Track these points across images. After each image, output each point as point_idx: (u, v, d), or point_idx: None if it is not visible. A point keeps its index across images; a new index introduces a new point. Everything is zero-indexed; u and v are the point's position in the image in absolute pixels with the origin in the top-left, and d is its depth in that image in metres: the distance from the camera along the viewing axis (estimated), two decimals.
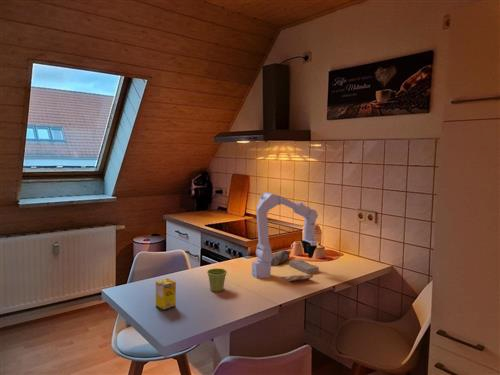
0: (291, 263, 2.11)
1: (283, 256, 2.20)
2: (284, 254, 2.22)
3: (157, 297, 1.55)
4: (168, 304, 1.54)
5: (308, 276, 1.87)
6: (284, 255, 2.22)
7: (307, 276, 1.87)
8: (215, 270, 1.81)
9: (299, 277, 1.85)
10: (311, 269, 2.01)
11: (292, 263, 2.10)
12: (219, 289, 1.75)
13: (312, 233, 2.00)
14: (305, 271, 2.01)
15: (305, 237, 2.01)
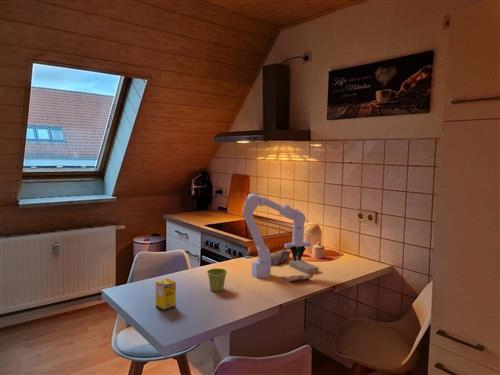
0: (291, 263, 2.11)
1: (283, 256, 2.20)
2: (284, 254, 2.22)
3: (157, 297, 1.55)
4: (168, 304, 1.54)
5: (308, 276, 1.87)
6: (284, 255, 2.22)
7: (307, 276, 1.87)
8: (215, 270, 1.81)
9: (299, 277, 1.85)
10: (311, 269, 2.01)
11: (292, 263, 2.10)
12: (219, 289, 1.75)
13: (294, 237, 1.93)
14: (305, 271, 2.01)
15: None
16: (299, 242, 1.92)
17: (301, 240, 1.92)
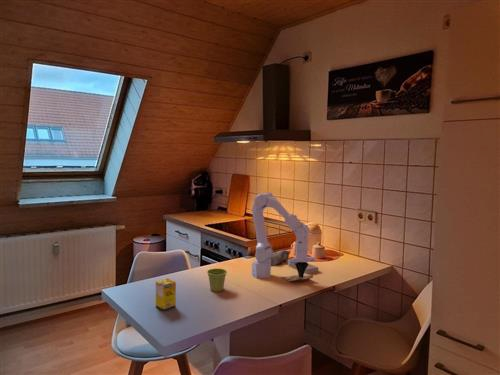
0: None
1: (282, 256, 2.20)
2: (283, 254, 2.22)
3: (157, 297, 1.55)
4: (168, 304, 1.54)
5: (308, 277, 1.87)
6: (283, 255, 2.22)
7: (307, 277, 1.87)
8: (215, 270, 1.81)
9: (299, 278, 1.85)
10: (311, 269, 2.01)
11: None
12: (219, 289, 1.75)
13: (297, 252, 1.84)
14: (305, 271, 2.01)
15: None
16: (303, 258, 1.83)
17: (305, 255, 1.83)
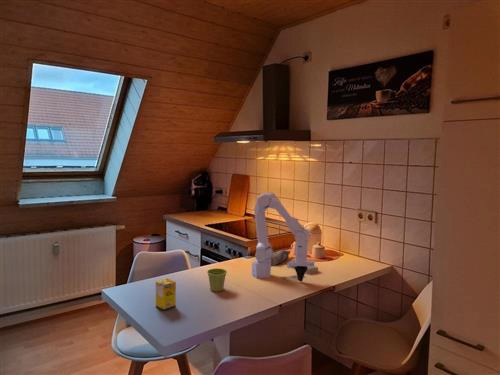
0: None
1: (282, 256, 2.20)
2: (283, 254, 2.22)
3: (157, 297, 1.55)
4: (168, 304, 1.54)
5: None
6: (283, 255, 2.22)
7: None
8: (215, 270, 1.81)
9: None
10: (311, 269, 2.01)
11: None
12: (219, 289, 1.75)
13: (297, 256, 1.84)
14: None
15: None
16: (302, 262, 1.83)
17: (304, 260, 1.84)
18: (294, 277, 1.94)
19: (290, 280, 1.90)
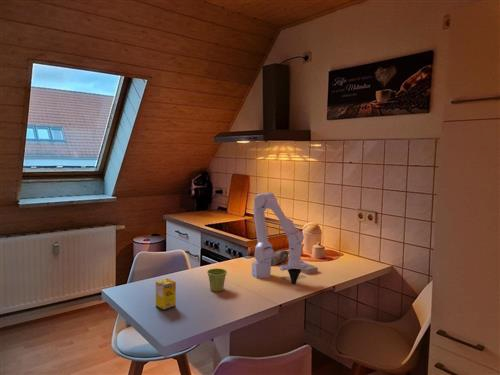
0: None
1: (282, 256, 2.20)
2: (283, 254, 2.22)
3: (157, 297, 1.55)
4: (168, 304, 1.54)
5: None
6: (283, 255, 2.22)
7: None
8: (215, 270, 1.81)
9: None
10: (310, 269, 2.00)
11: None
12: (219, 289, 1.75)
13: (290, 258, 1.82)
14: (304, 271, 2.01)
15: None
16: (296, 264, 1.81)
17: (298, 262, 1.82)
18: None
19: None
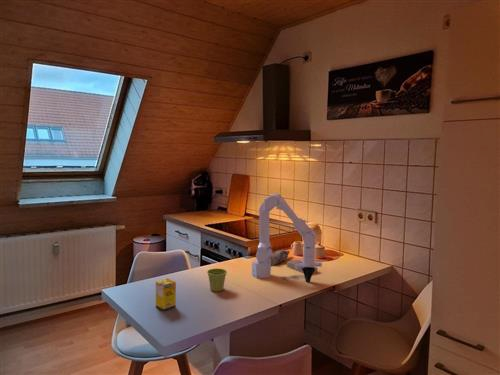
0: (289, 264, 2.10)
1: (281, 256, 2.20)
2: (282, 254, 2.22)
3: (157, 297, 1.55)
4: (168, 304, 1.54)
5: None
6: (282, 255, 2.22)
7: None
8: (215, 270, 1.81)
9: None
10: None
11: (290, 264, 2.09)
12: (219, 289, 1.75)
13: (305, 257, 1.85)
14: None
15: None
16: (310, 263, 1.84)
17: (312, 261, 1.85)
18: (294, 277, 1.94)
19: (290, 279, 1.90)
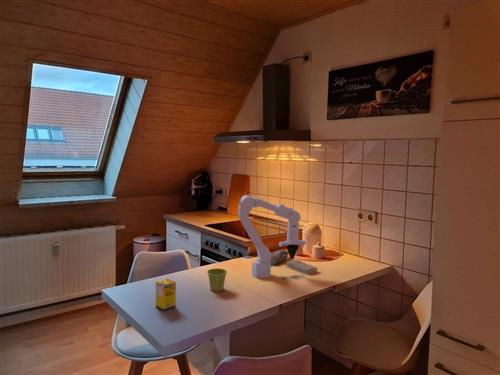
0: (289, 264, 2.09)
1: (281, 256, 2.20)
2: (282, 254, 2.22)
3: (157, 297, 1.55)
4: (168, 304, 1.54)
5: None
6: (282, 255, 2.22)
7: None
8: (215, 270, 1.81)
9: None
10: (310, 269, 2.00)
11: (290, 264, 2.09)
12: (219, 289, 1.75)
13: (289, 235, 1.94)
14: (304, 272, 2.00)
15: None
16: (294, 240, 1.93)
17: (296, 238, 1.93)
18: (294, 277, 1.94)
19: (290, 279, 1.90)
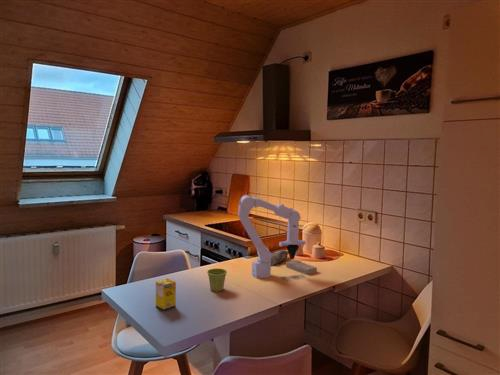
0: (288, 264, 2.09)
1: (281, 256, 2.20)
2: (282, 254, 2.22)
3: (157, 297, 1.55)
4: (168, 304, 1.54)
5: None
6: (282, 255, 2.22)
7: None
8: (215, 270, 1.81)
9: None
10: (310, 270, 2.00)
11: (289, 264, 2.08)
12: (219, 289, 1.75)
13: (289, 235, 1.94)
14: (304, 272, 2.00)
15: None
16: (294, 240, 1.93)
17: (296, 238, 1.93)
18: (294, 277, 1.94)
19: (290, 279, 1.90)
